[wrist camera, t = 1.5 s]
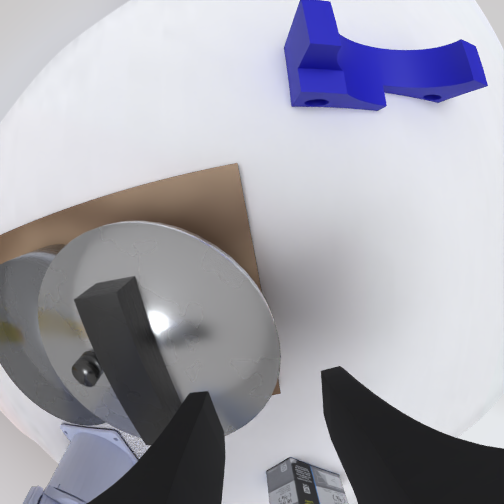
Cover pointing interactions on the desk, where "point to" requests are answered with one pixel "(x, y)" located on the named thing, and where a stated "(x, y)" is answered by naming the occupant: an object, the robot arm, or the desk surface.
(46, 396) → the grey dish and cube
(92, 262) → the lid
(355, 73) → the cable clip
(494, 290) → the desk surface
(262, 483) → the desk surface
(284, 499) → the grey blue carton
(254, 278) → the walnut board
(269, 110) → the desk surface
